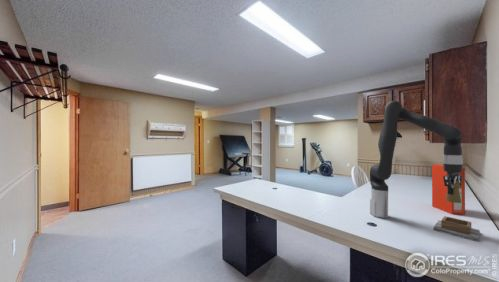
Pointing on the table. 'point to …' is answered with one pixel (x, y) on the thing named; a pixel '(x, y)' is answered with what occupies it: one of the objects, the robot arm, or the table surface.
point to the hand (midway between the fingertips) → (453, 193)
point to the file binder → (441, 191)
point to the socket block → (457, 228)
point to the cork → (456, 195)
